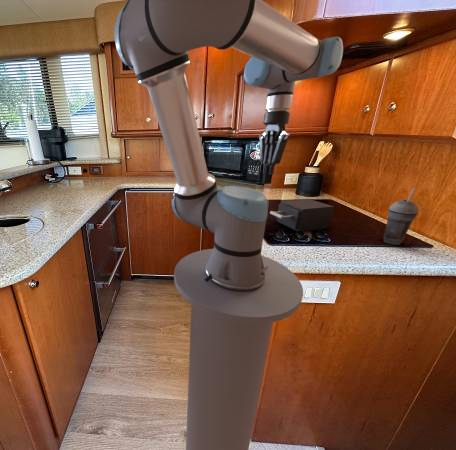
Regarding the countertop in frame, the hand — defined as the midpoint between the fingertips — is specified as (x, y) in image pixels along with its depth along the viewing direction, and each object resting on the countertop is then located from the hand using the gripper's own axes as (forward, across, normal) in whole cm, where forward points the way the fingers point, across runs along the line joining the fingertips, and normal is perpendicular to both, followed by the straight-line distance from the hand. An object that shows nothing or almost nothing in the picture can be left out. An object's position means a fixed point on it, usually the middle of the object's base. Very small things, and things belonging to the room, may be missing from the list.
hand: (266, 183), depth 85 cm
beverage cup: (+20, -16, -43) cm, 50 cm away
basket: (+20, +7, -21) cm, 30 cm away
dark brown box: (+20, +7, -26) cm, 34 cm away
